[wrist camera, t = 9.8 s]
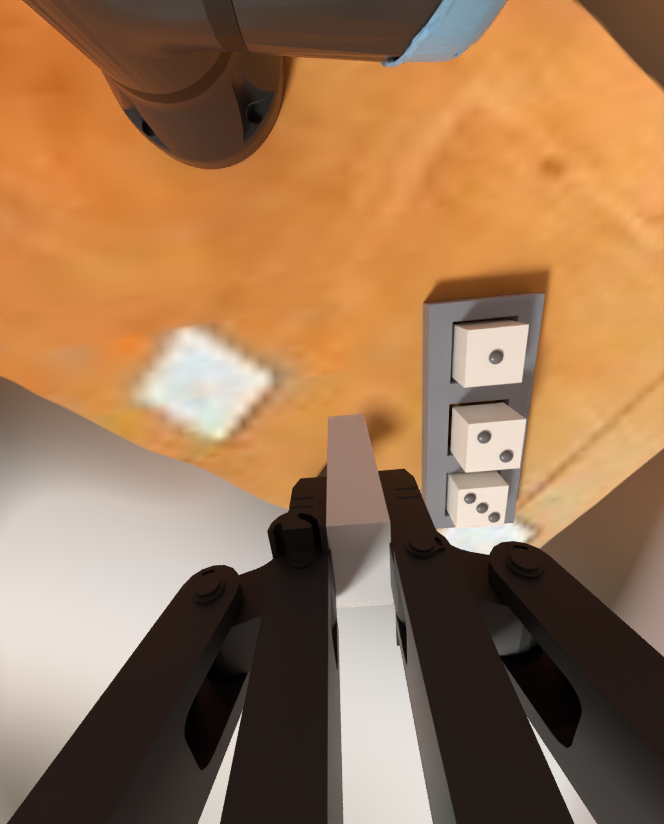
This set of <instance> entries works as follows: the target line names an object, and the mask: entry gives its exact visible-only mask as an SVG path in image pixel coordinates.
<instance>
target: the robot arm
mask: <svg viewBox="0 0 664 824" xmlns="http://www.w3.org/2000/svg"><path fill="white" fill-rule="evenodd" d="M23 1H24V2H25V3H26V4H28V5H29V6H30V7H31V8H32V9H33V10H34V11H36V12H37V13H38V14H39V15H40V16H41V17H42V18H43V19H45V20H46V21H47V22H48V23H49V24H50V25H51V26H53V27H54V28H55V29H56V30H57V31H58V32H59V33H60V34H62V35H63V36H64V37H65V38H66V39H67V40H68V41H70V42H71V43H72V44H73V45H74V46H75V47H76V48H78V49H79V50H80V51H81V52H82V53H83V54H84V55H85V56H87V57H88V58H89V59H90V60H91V61H92V62H93V63H94V64H95V65H97V66H98V67H99V68H100V69H101V70H102V72H103V74H104V76H105V78H106V80H107V82H108V84H109V86H110V88H111V90H112V92H113V94H114V96H115V97H116V99H117V101H118V103H119V105H120V106H121V108H122V109H123V111H124V112H125V114H126V115H127V117H128V118H129V119H130V121H131V122H132V123H133V124H134V125H135V127H136V128H137V129H138V130H139V131H140V132H141V133H142V134H143V135H144V136H145V137H146V138H147V139H148V140H149V141H150V142H152V143H153V144H154V145H156V146H157V147H158V148H160V149H161V150H162V151H163V152H165V153H166V154H168V155H169V156H171V157H172V158H174V159H176V160H177V161H180V162H182V163H184V164H187V165H189V166H193V167H197V168H202V169H220V168H226V167H229V166H232V165H235V164H237V163H239V162H241V161H243V160H245V159H246V158H248V157H249V156H250V155H252V154H253V153H254V152H255V151H256V150H257V149H258V148H259V147H260V146H261V145H262V144H263V142H264V141H265V140H266V138H267V137H268V135H269V133H270V132H271V130H272V128H273V126H274V124H275V122H276V119H277V116H278V114H279V110H280V107H281V103H282V98H283V92H284V82H285V64H284V56H290V57H306V58H323V59H339V60H356V61H372V62H381V63H382V65H383V66H384V67H397V66H399V65H401V64H403V63H404V62H444V61H448V60H451V59H454V58H456V57H458V56H460V55H461V54H462V53H463V52H464V51H466V50H467V49H468V48H469V47H470V46H471V45H472V44H474V43H476V42H477V41H478V40H479V39H480V38H481V37H482V36H483V34H484V33H485V32H486V31H487V29H488V28H489V27H490V26H491V24H492V23H493V22H494V20H495V19H496V17H497V16H498V14H499V13H500V11H501V10H502V9H503V7H504V5H505V4H506V2H507V1H508V0H23ZM267 532H268V537H269V541H270V546H271V550H272V555H273V559H272V560H271V561H270V562H268V563H267V564H266V565H264V566H262V567H260V568H257V569H255V570H252V571H249V572H246V573H244V574H241V575H238V573H237V572H236V571H235V570H234V569H233V568H231V567H228V566H226V565H216V566H211V567H208V568H206V569H202V570H201V571H199V572H198V573H196V574H194V575H193V576H192V577H191V578H190V579H189V580H188V581H187V582H186V583H185V584H184V585H183V586H182V587H181V589H180V590H179V591H178V593H177V594H176V595H175V597H174V598H173V600H172V601H171V602H170V604H169V605H168V606H167V608H166V609H165V610H164V612H163V613H162V615H161V616H160V617H159V619H158V620H157V621H156V623H155V624H154V625H153V627H152V628H151V629H150V631H149V632H148V633H147V635H146V636H145V637H144V639H143V640H142V642H141V643H140V644H139V646H138V647H137V648H136V650H135V651H134V652H133V654H132V655H131V656H130V658H129V659H128V661H127V662H126V663H125V665H124V666H123V667H122V669H121V670H120V671H119V673H118V674H117V675H116V677H115V678H114V679H113V681H112V682H111V684H110V685H109V686H108V688H107V689H106V690H105V692H104V693H103V694H102V696H101V697H100V699H99V700H98V701H97V702H96V704H95V705H94V707H93V708H92V709H91V711H90V712H89V713H88V715H87V716H86V717H85V719H84V720H83V721H82V723H81V724H80V725H79V727H78V728H77V730H76V731H75V732H74V734H73V735H72V736H71V738H70V739H69V740H68V742H67V743H66V744H65V746H64V747H63V748H62V750H61V751H60V753H59V754H58V755H57V757H56V758H55V759H54V761H53V762H52V763H51V765H50V766H49V767H48V769H47V770H46V772H45V773H44V774H43V776H42V777H41V778H40V780H39V781H38V782H37V784H36V785H35V787H34V788H33V789H32V790H31V792H30V793H29V794H28V796H27V797H26V799H25V800H24V801H23V803H22V804H21V806H20V807H19V808H18V809H17V811H16V812H15V814H14V815H13V816H12V818H11V819H10V820H9V822H8V823H7V824H198V821H199V819H200V816H201V814H202V811H203V809H204V806H205V804H206V801H207V799H208V796H209V794H210V791H211V789H212V786H213V783H214V781H215V779H216V776H217V773H218V771H219V768H220V766H221V763H222V761H223V758H224V756H225V753H226V751H227V748H228V746H229V743H230V741H231V738H232V735H233V733H234V730H235V728H236V725H237V723H238V720H239V718H240V715H241V713H242V717H241V722H240V727H239V731H238V736H237V742H236V747H235V751H234V756H233V761H232V767H231V771H230V777H229V781H228V786H227V791H226V796H225V801H224V806H223V811H222V817H221V822H220V824H343V793H342V756H341V755H342V754H341V717H340V715H341V714H340V678H339V636H338V623H337V613H336V607H337V608H344V607H357V606H358V607H359V606H373V605H386V604H393V599H394V604H395V609H396V636H397V646H399V645H400V648H401V654H402V659H403V664H404V670H405V676H406V680H407V686H408V692H409V697H410V702H411V707H412V713H413V718H414V724H415V729H416V735H417V740H418V746H419V751H420V756H421V761H422V767H423V772H424V778H425V783H426V789H427V793H428V799H429V805H430V810H431V815H432V821H433V824H574V822H573V819H572V817H571V815H570V813H569V811H568V808H567V806H566V804H565V801H564V799H563V797H562V795H561V793H560V790H559V788H558V786H557V783H556V781H555V779H554V777H553V775H552V772H551V770H550V768H549V766H548V763H547V761H546V759H545V756H544V754H543V752H542V750H541V747H540V745H539V743H538V741H537V739H536V736H535V734H534V732H533V730H532V728H531V725H530V723H529V720H530V722H531V723H532V725H533V726H534V728H535V729H536V731H537V733H538V734H539V735H540V737H541V739H542V740H543V742H544V743H545V745H546V746H547V748H548V749H549V751H550V752H551V754H552V755H553V757H554V758H555V760H556V762H557V763H558V765H559V766H560V768H561V769H562V771H563V772H564V774H565V775H566V777H567V778H568V780H569V781H570V783H571V784H572V786H573V787H574V789H575V790H576V792H577V794H578V795H579V797H580V798H581V800H582V801H583V803H584V804H585V806H586V807H587V809H588V810H589V812H590V813H591V815H592V817H593V818H594V820H595V821H596V823H597V824H664V657H663V656H662V655H661V654H660V653H659V652H657V651H656V650H655V649H654V648H653V647H652V646H651V645H649V644H648V643H647V642H646V641H645V640H644V639H643V638H642V637H641V636H639V635H638V634H637V633H636V632H635V631H634V630H633V629H632V628H630V627H629V626H628V625H627V624H626V623H625V622H624V621H623V620H621V619H620V618H619V617H618V616H617V615H616V614H615V613H614V612H612V611H611V610H610V609H609V608H608V607H607V606H606V605H604V604H603V603H602V602H601V601H600V600H599V599H598V598H597V597H596V596H594V595H593V594H592V593H591V592H590V591H589V590H588V589H586V588H585V587H584V586H583V585H582V584H581V583H580V582H579V581H577V580H576V579H575V578H574V577H573V576H572V575H571V574H570V573H568V572H567V571H566V570H565V569H564V568H563V567H562V566H560V565H559V564H558V563H557V562H556V561H555V560H554V559H553V558H551V557H550V556H549V555H547V554H546V553H545V552H543V551H542V550H540V549H539V548H536V547H534V546H531V545H529V544H526V543H521V542H515V541H510V542H502V543H500V544H498V545H496V546H494V547H493V549H492V551H491V552H490V555H486V554H480V553H474V552H469V551H465V550H461V549H459V548H456V547H454V546H452V545H450V543H449V542H448V541H447V539H446V538H445V537H444V536H443V535H441V534H440V533H438V532H437V531H436V528H435V526H434V524H433V521H432V519H431V516H430V514H429V512H428V509H427V507H426V505H425V502H424V500H423V498H422V495H421V493H420V490H419V489H418V485H417V483H416V481H415V478H414V477H413V476H412V475H411V474H410V473H409V472H407V471H406V470H405V469H396V470H384V471H378V470H377V466H376V462H375V458H374V453H373V449H372V445H371V441H370V437H369V433H368V429H367V425H366V421H365V417H364V414H356V415H345V416H334V417H328V448H327V476H325V477H314V478H302V479H300V480H299V481H298V482H297V483H296V485H295V486H294V487H293V489H292V495H291V501H290V506H289V512H288V513H285V514H283V515H281V516H279V517H278V518H277V519H276V520H274V521H273V522H272V523H271V525H270V527H269V529H268V531H267ZM242 710H243V712H242ZM527 717H528V718H527ZM528 719H529V720H528Z"/></svg>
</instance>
